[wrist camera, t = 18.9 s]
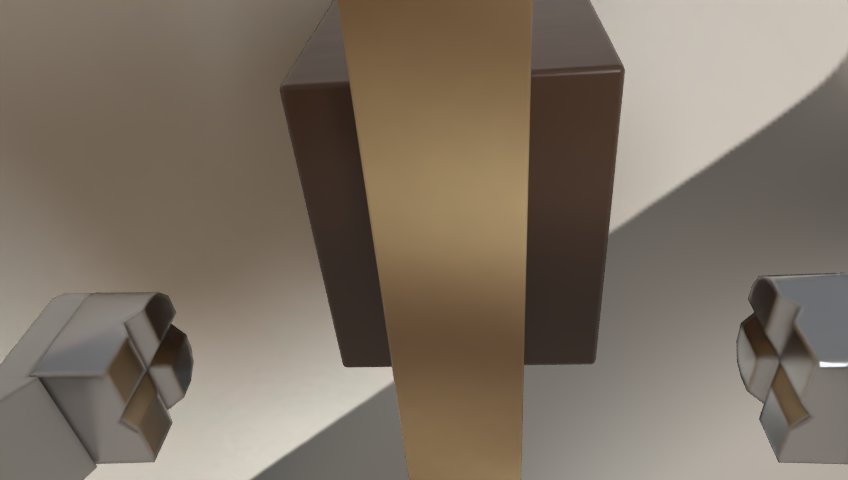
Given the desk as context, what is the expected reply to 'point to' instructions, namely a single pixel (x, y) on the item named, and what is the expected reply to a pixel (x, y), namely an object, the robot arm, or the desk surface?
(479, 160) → the tan wooden bar
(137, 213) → the desk surface
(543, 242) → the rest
